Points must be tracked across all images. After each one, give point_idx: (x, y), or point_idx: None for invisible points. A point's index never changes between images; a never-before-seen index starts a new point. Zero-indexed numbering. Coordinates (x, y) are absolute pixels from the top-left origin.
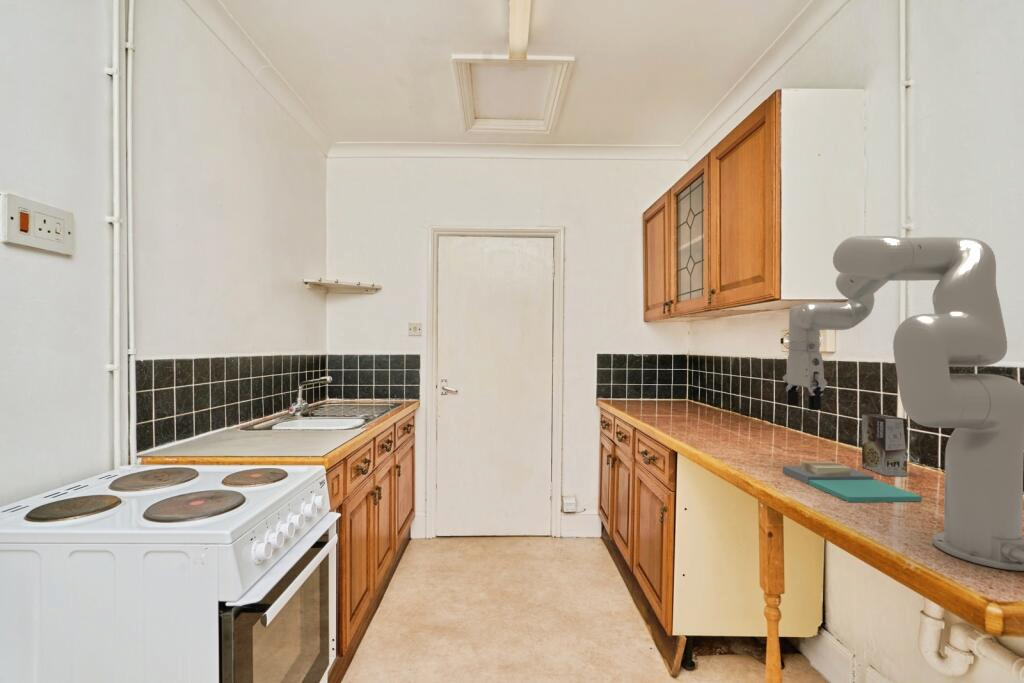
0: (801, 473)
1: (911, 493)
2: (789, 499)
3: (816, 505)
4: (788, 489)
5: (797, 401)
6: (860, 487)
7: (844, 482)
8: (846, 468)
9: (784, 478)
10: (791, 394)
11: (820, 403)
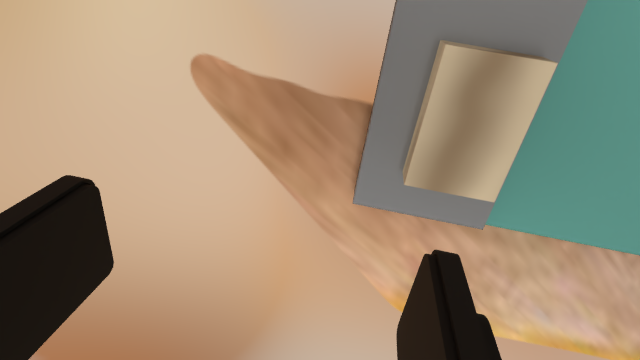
0: (446, 218)
1: None
2: (545, 343)
3: (608, 328)
4: (488, 293)
5: (70, 213)
6: (632, 134)
7: (562, 136)
8: (546, 82)
9: (403, 228)
10: (11, 345)
11: (471, 309)
